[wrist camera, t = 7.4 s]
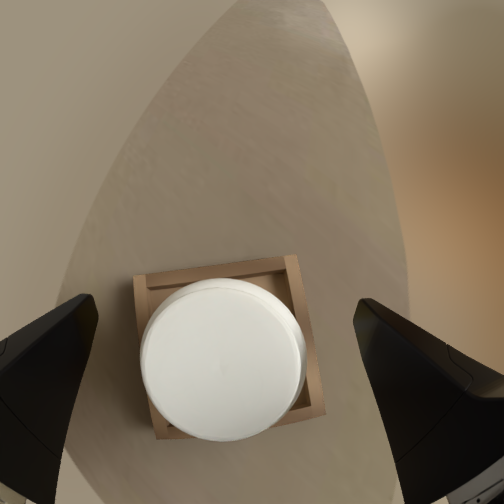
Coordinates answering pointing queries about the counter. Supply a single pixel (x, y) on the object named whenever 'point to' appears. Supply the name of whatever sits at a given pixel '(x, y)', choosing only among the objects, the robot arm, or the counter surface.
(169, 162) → the counter surface
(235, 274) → the walnut tray
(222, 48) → the counter surface
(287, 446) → the counter surface
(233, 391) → the supplement bottle
